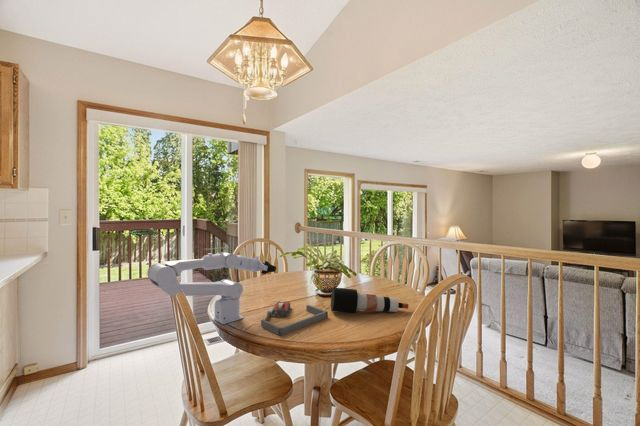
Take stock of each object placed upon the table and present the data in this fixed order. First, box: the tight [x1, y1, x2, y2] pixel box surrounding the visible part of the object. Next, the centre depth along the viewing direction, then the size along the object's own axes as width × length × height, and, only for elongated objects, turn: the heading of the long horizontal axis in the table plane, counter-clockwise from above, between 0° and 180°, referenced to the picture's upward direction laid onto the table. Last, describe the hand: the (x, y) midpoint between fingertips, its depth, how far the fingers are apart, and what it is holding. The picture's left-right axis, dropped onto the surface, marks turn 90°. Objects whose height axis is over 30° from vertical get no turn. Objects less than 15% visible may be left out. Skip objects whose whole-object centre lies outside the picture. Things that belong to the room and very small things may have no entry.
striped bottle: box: [330, 287, 410, 314], centre depth 131 cm, size 10×34×10 cm, turn 94°
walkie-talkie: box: [264, 300, 291, 321], centre depth 128 cm, size 9×4×20 cm
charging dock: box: [260, 304, 328, 337], centre depth 120 cm, size 25×12×2 cm, turn 136°
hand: (270, 267), depth 137 cm, fingers open, 7 cm apart
